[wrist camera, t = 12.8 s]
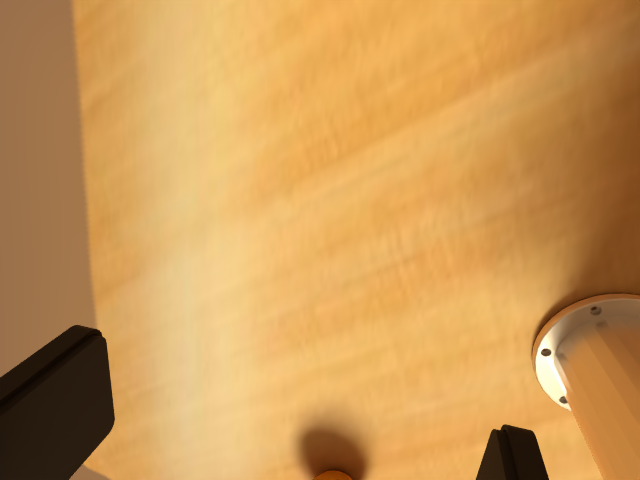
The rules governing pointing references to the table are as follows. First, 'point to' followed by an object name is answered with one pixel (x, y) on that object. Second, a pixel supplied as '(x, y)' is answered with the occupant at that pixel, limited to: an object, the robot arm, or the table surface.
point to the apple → (333, 476)
